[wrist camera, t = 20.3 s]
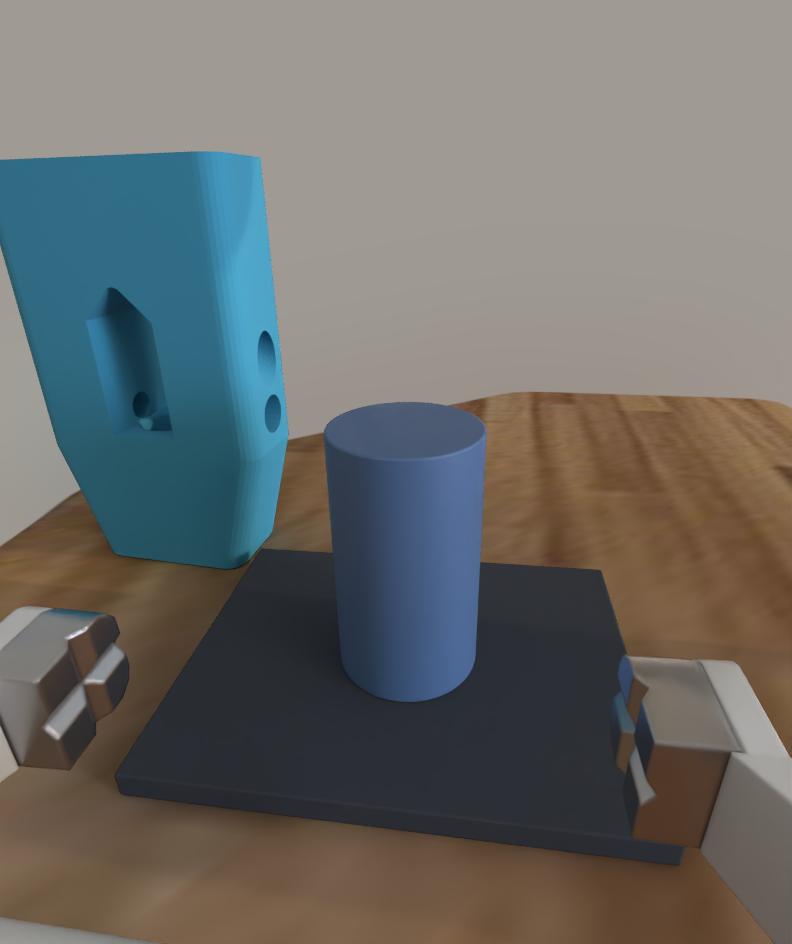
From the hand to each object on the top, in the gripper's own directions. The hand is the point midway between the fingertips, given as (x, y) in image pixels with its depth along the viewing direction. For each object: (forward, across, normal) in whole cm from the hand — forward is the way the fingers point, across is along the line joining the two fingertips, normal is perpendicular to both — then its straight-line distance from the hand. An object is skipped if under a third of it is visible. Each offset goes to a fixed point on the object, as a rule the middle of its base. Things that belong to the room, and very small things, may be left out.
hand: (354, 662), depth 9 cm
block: (+21, +15, +12) cm, 28 cm away
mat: (+12, +1, +11) cm, 16 cm away
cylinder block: (+12, +1, +10) cm, 16 cm away
